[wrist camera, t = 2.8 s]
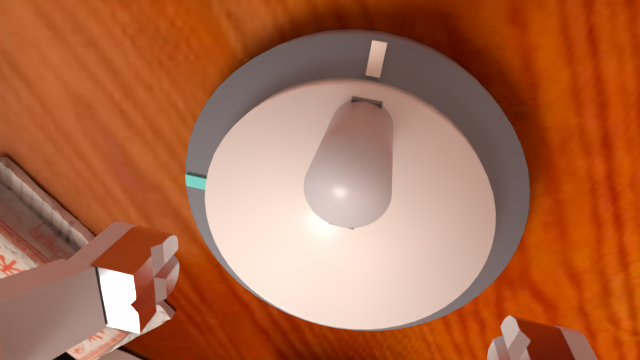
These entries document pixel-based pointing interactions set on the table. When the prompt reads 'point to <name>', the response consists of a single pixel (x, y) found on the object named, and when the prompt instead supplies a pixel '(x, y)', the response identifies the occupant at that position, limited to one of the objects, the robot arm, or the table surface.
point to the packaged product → (50, 247)
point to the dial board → (390, 68)
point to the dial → (350, 204)
